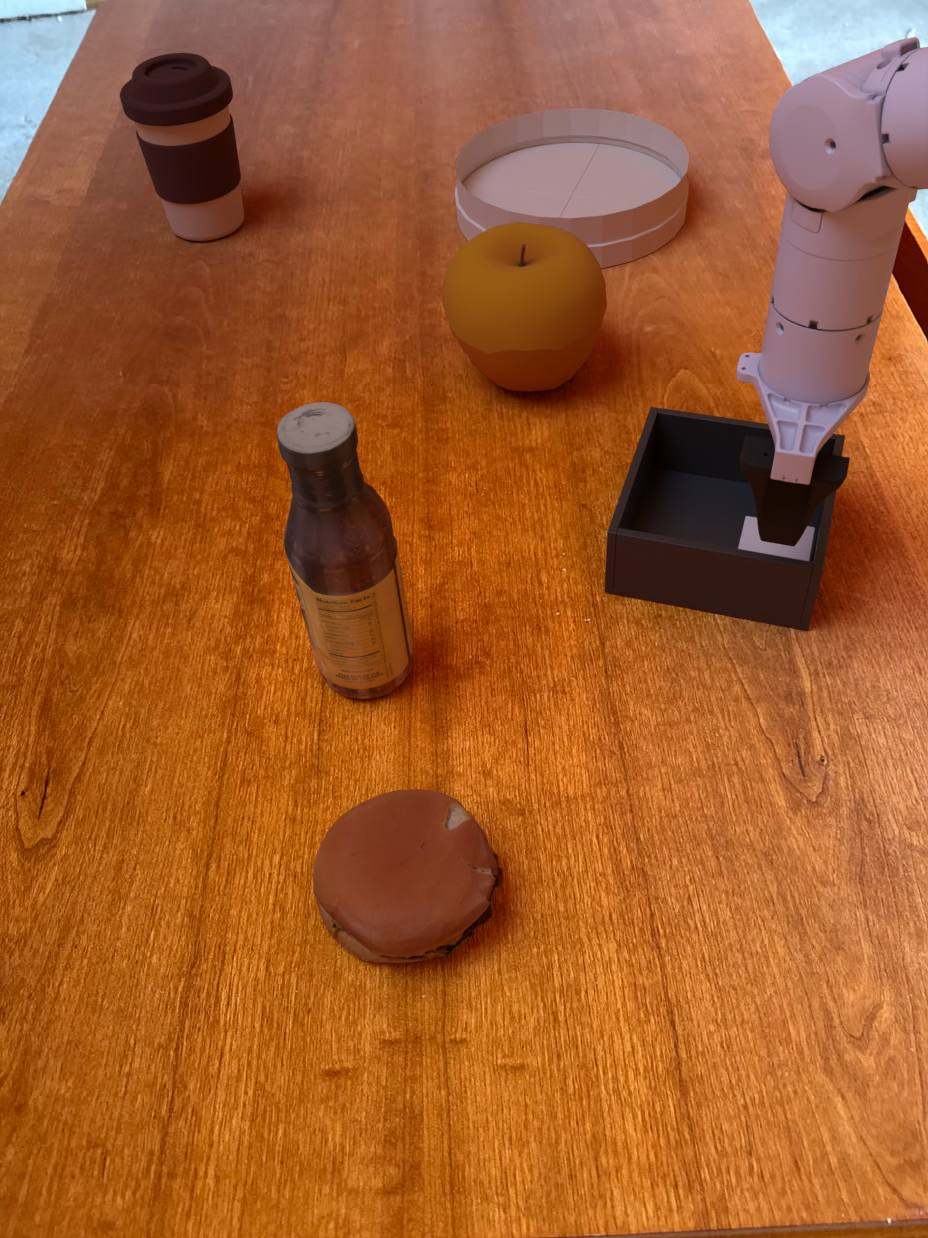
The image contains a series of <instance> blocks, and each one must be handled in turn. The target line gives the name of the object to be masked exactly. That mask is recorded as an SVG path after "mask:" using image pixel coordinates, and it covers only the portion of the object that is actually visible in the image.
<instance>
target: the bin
mask: <svg viewBox="0 0 928 1238" xmlns="http://www.w3.org/2000/svg"><path fill="white" fill-rule="evenodd" d="M746 435H748V436H755V437H762V438H768V439H773V437H772V434H771V431H770V428H769V425H768V423H766V422H758V421H751V420H744V419H739V418H738V419H737V418H732V417H724V416H718V415H710V414H704V413H697V412H691V411H684V410H676V409H670V408H664V407H657V406H656V407H655V406H651V407H649V411H648V414H647V417H646V420H645V423H644V425H643V428H642V430H641V434H640V436H639V440H638V443H637V445H636V448H635V451H634V454H633V457H632V460H631V462H630V466H629V469H628V471H627V474H626V477H625V480H624V483H623V486H622V488H621V492H620V493H619V497H618V500H617V503H616V505H615V508H614V512H613V515H612V518H611V520H610V523H609V525H608V529H607V532H606V549H605V550H606V551H605V572H604V573H605V574H604V593H606V594H613V595H617V596H622V597H629V598H633V599H638V600H642V601H643V600H644V601H648V602H654V603H659V604H665V605H669V606H675V607H679V608H685V609H691V610H695V611H700V612H706V613H712V614H715V615H722V616H726V617H727V616H728V617H733V618H738V619H742V620H743V619H744V620H748V621H753V622H757V623H758V622H759V623H764V624H768V625H775V626H779V627H786V628H790V629H796V630H801V631H805V632H808V631H809V629H810V626H811V621H812V617H813V613H814V610H815V605H816V602H817V597H818V594H819V589H820V586H821V585H820V584H821V582H822V577H823V573H824V569H825V568H824V567H825V562H826V556H827V550H828V544H829V537H830V532H831V527H832V526H831V525H832V520H833V513H834V507H835V502H836V501H835V500H836V496H837V490H836V491H834V492H833V493H831V494H830V495H829V496H828V497H827V498H825V500H824V501H823V502H822V503H821V504H820V505H819V507H818V508H817V509H816V511H815V512H814V514H813V516H812V518H811V520H810V522H809V524H808V526H809V527H815V533H814V538H813V544H812V550H811V555H810V561H805V560H799V559H794V558H788V557H782V556H776V555H771V554H765V553H759V552H754V551H748V550H742V549H738V546H739V542H740V538H741V534H742V530H743V525H744V521H745V517H746V516H750V517H756V518H757V514H756V503H755V498H754V494H753V491H752V489H751V486H750V484H749V482H748V480H747V479H746V477H745V476H744V475H743V473H742V470H741V465H740V456H741V451H742V447H743V443H744V439H745V436H746ZM845 440H846V435H845V434H839V433H835V432H834V433H833V435H832V436H831V437H830V438H829V439H828V440H827V442H826V443H825V444H824V445H823V446H822V448H821V449H820V450H819V452H818V453H823V454H830V455H837V456H843V454H844V446H845Z"/></svg>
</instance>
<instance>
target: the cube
mask: <svg viewBox="0 0 928 1238" xmlns="http://www.w3.org/2000/svg"><path fill="white" fill-rule="evenodd" d="M814 533H815V527H809V526H807V528H806V530H805V531H804V533H803V535H802V537H801V538H800V540H799V541H798V543H797V544H796V545H795V546H787V545H781V544H775V543H770V542H764V541H761V540H760V536H759V532H758V525H757V518H756V517H750V516H746V517H745V521H744V525H743V530H742V534H741V538H740V542H739V546H738V549H742V550H748V551H754V552H759V553H765V554H771V555H776V556H782V557H788V558H794V559H799V560H805V561H810V555H811V550H812V544H813V538H814Z"/></svg>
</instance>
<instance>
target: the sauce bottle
mask: <svg viewBox="0 0 928 1238" xmlns="http://www.w3.org/2000/svg"><path fill="white" fill-rule="evenodd" d="M276 439H277V445H278V449H279V453H280V456H281V458H282V460H283V461H284V462H285V464H286V466H287V470H288V474H289V478H290V482H291V484H290V488H291V495H292V497H291V502H290V506H289V511H288V515H287V519H286V525H285V529H284V534H283V549H284V552H285V556H286V560H287V564H288V567H289V570H290V574H291V579H292V582H293V585H294V590H295V593H296V597H297V600H298V604H299V609H300V612H301V615H302V618H303V621H304V626H305V629H306V634H307V635H308V636H307V637H308V640H309V643H310V647H311V651H312V654H313V659H314V662H315V665H316V668H317V669H318V671H319V672H320V676H321V679H324V681H325V683H327V684H328V686H329V687H330V688H331V689H332V690H334V691H335V692H337V693H339V694H340V695H341V696H344V697H346V698H350V699H354V700H355V699H356V700H368V699H376V698H380V697H385V696H388V695H390V693H392V692H394V691H395V690H396V689H398V688H399V687H400V686H401V685H402V684H403V682H405V680H406V679H407V677H408V676H409V675H410V673H411V672H412V670H413V665H414V655H413V654H414V652H413V651H414V637H413V631H412V630H413V629H412V624H411V619H410V618H411V617H410V612H409V606H408V600H407V595H406V594H407V593H406V588H405V582H404V576H403V571H402V564H401V559H400V553H399V547H398V542H397V539H396V537H395V533H394V528H393V520H392V517H391V513H390V511H389V510H390V509H389V508H388V505H387V504H386V502H385V500H383V498H382V497H381V495H380V494H379V493H378V491H377V490H376V489H375V487H374V486H372V485H370V484H368V483H367V482H365V478H364V474H363V471H362V470H361V467H360V466H361V465H360V460H359V452H358V449H357V448H358V444H359V435H358V428H357V425H356V421H355V418H354V416H353V415H352V413H351V412H350V411H349V410H348V409H347V408H345V407H344V406H342V405H340V404H337V403H333V402H329V401H327V402H326V401H325V402H324V401H320V402H311V403H307V404H303V405H300V406H299V407H297V408H295V409H294V410H291V411H289V412H287V414H285V415H284V416H283V417H282V418H281V419H280V421H279V423H278V425H277V427H276Z"/></svg>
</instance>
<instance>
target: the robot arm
mask: <svg viewBox="0 0 928 1238" xmlns="http://www.w3.org/2000/svg"><path fill="white" fill-rule="evenodd" d="M920 43H921V42H920V39H919V38H918V37H916V36H913V37H906V38H902V39H898V40H896V41H893V42H891V43H888V44H886V45H884V46H883V47H881V48H879V49H875V50H874V51H871V52H869V53H866V54H863V55H861V56H859V57H856V58H853V59H851V60H848V61H846V62H843V63H841V64H838V65H836V66H833V67H831V68H828V69H825V70H823V71H821V72H817V73H814V74H813V75H811V76H807V78H804V79H802V80H801V81H800V82H798V83H796V84H794V85H792V86H790V87H789V88H788V89H787V90H786V91H785V92H784V93H783V94H782V95H781V96H780V97H779V99H778V101H777V103H776V104H775V106H774V109H773V111H772V115H771V118H770V122H769V123H770V124H769V132H768V145H769V153H770V158H771V162H772V165H773V168H774V171H775V173H776V175H777V177H778V179H779V182H780V183H781V184H782V186H783V187H784V188H785V190H786V192H785V198H784V199H785V200H784V206H783V212H782V218H781V225H780V231H779V239H778V244H777V251H776V257H775V264H774V270H773V276H772V282H771V288H770V295H769V300H768V307H767V315H766V321H765V326H764V332H763V333H764V334H763V339H762V344H761V351H760V352H751V351H750V352H749V351H746V352H744V353H743V352H742V353H741V354H740V356H739V358H738V361H737V366H736V370H735V371H736V372H735V380H736V381H738V382H741V383H743V384H749V385H752V386H753V387H754V388H755V390H756V393H757V395H758V399H759V401H760V404H761V407H762V410H763V413H764V416H765V419H766V422H767V424H768V425H769V428H770V431H771V434H772V437H773V439H768V438H762V437H755V436H748V435H746V436H745V439H744V443H743V447H742V451H741V456H740V465H741V470H742V473H743V475H744V476H745V477H746V479H747V480H748V482H749V484H750V486H751V489H752V491H753V494H754V498H755V503H756V514H757V525H758V532H759V536H760V540H761V541H764V542H770V543H775V544H781V545H787V546H795V545H796V544H797V543H798V541H799V540H800V538H801V537H802V535H803V533H804V531H805V530H806V528H807V526H808V524H809V522H810V520H811V518H812V516H813V514H814V512H815V511H816V509H817V508H818V507H819V505H820V504H821V503H822V502H823V501H824V500H825V498H827V497H828V496H829V495H830V494H831V493H833V492H834V491H836V492H837V490H839V489H840V488H841V486H842V485H843V484H844V482H845V480H846V478H847V476H848V472H849V466H850V460H851V459H850V456H844V455H842V456H837V455H830V454H823V453H818V452H819V450H820V449H821V448H822V446H823V445H824V444H825V443H826V442H827V440H828V439H829V438H830V437H831V436H832V435H833V433H834V434H835V433H836V432H837V430H838V429H839V428H840V427H841V426H842V425H843V424H844V422H845V421H846V420H847V419H848V418H849V416H850V415H852V413H853V412H854V411H855V409H856V408H858V406H859V405H860V404H861V403H862V401H863V400H864V399H865V398H866V395H867V394H868V389H869V387H870V386H869V385H870V383H871V382H870V381H871V373H870V372H871V371H870V365H871V362H872V357H873V352H874V348H875V345H876V339H877V336H878V332H879V328H880V325H881V320H882V316H883V312H884V309H885V304H886V299H887V294H888V291H889V287H890V283H891V278H892V274H893V270H894V267H895V262H896V259H897V254H898V249H899V245H900V242H901V237H902V235H903V234H902V233H903V230H904V225H905V221H906V217H907V214H908V208H909V205H910V203H913V202H915V201H916V198H917V196H918V191H920V190H928V46H924V47H921V44H920Z"/></svg>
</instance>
